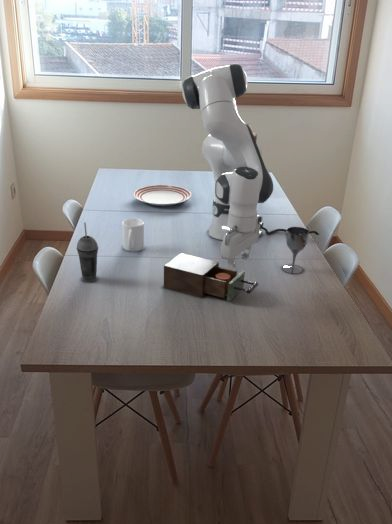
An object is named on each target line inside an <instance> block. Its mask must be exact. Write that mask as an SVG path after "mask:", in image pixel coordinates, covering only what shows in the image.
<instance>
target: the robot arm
mask: <svg viewBox="0 0 392 524" xmlns="http://www.w3.org/2000/svg"><path fill="white" fill-rule="evenodd" d="M247 87H248V76H247V73H246V71H245V69H243V66H242V65H241V64H239V63H230V64H229V65H223V66H218V67H213V68H211V69H208V70H205V71H202V72H200V73H198V74H195V75H190V76H188V77H186V78H185V79H184V80H183V82H182V88H181V94H182V98H183V100H184V102H185V104H186V105H187V107H188V108H189V109H191V110H200V116H201V121H202V125H203V127H204V130H205V131H206V133H207V134H208V135H207V136H206V137H205V139H204V140H203V142H202V146H201V153H202V156H203V157H204V159H205V160H206V161H207V163H208V164H209V166H210V168H211V171H212V174H213V178H214V179H213V180H214V199H212V200H213V201H212V219H211V222H210V226H209V230H208V235H209V236H210V237H211V238H213V239H217V240H220V241H221V248H220V257H221V258H222V259H223V260H226V261H227V263H228V269H230V270H235V268H236V264H237V263H236V262H235V259H236V257H237V256H239V255H241V259H243V260H244V261H245V260H247V259H249V257H250V252H251V250H252V246H253V245H255V244H256V243H257V242H258V240H259V238H260V236H261V235H262V230H263V231H264V232H265V234H266V235H271V234H274V233H277V232H285V233H287V229H286V228H275V229H273V230H271V231H269V230H268V229H267V228H266V227H264V222H263V216H262V215H260V214H258V209H257V208H258V204H264V203H266V202H267V201H268V200H269V199H270V198H271V196H272V194H273V191H274V181H273V179H272V176H271V175H270V173H269V171H268V169H267V167H266V165H265V163H264V159H263V152H262V148H261V145H259V144H258V143H257V140H256V141H255V138H254V136H253V134H252V131H251V129H250V127H249V126H248V125H247V124H248V123H246V122H244V120H242V118H241V117H240V115H239V112H238V107H237V102H236V99H239V98H241V97H242V96H245V94H246V92H247ZM234 168H236V169H235V170H234ZM310 234H315V235H316V236H319V235H320V233H319V232H318V231H316V230H309V235H310Z"/></svg>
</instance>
